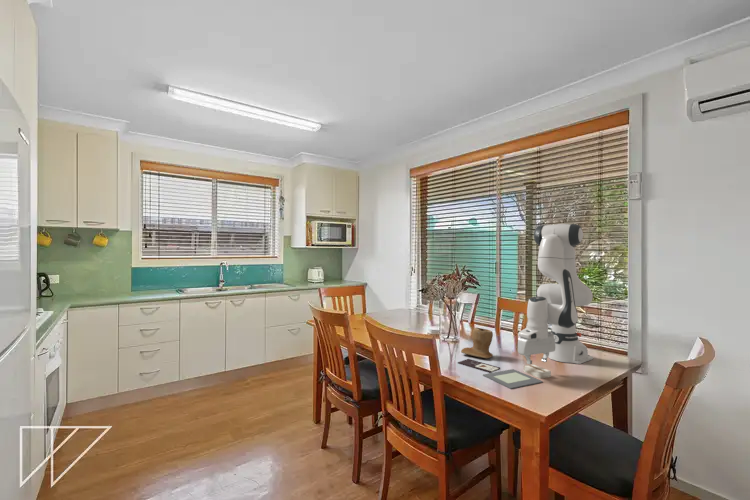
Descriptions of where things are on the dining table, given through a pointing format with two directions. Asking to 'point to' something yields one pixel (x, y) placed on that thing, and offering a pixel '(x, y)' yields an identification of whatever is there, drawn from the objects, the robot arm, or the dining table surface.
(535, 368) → the cream block
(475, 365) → the chocolate bar
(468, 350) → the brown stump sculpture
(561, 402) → the dining table surface
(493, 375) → the mat
